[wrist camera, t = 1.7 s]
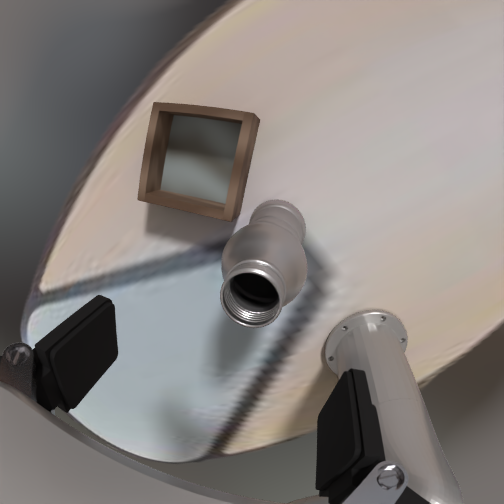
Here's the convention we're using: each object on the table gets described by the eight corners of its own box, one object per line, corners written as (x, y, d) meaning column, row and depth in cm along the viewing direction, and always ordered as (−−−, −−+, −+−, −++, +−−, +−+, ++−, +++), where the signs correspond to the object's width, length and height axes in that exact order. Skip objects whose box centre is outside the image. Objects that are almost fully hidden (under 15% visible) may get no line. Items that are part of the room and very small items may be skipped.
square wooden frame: (239, 214, 35) (231, 221, 31) (154, 195, 36) (137, 200, 32) (260, 119, 31) (254, 113, 27) (170, 107, 32) (153, 102, 28)
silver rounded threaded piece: (293, 188, 33) (282, 223, 14) (313, 240, 34) (324, 332, 16) (244, 208, 35) (176, 264, 16) (265, 257, 36) (225, 357, 17)
